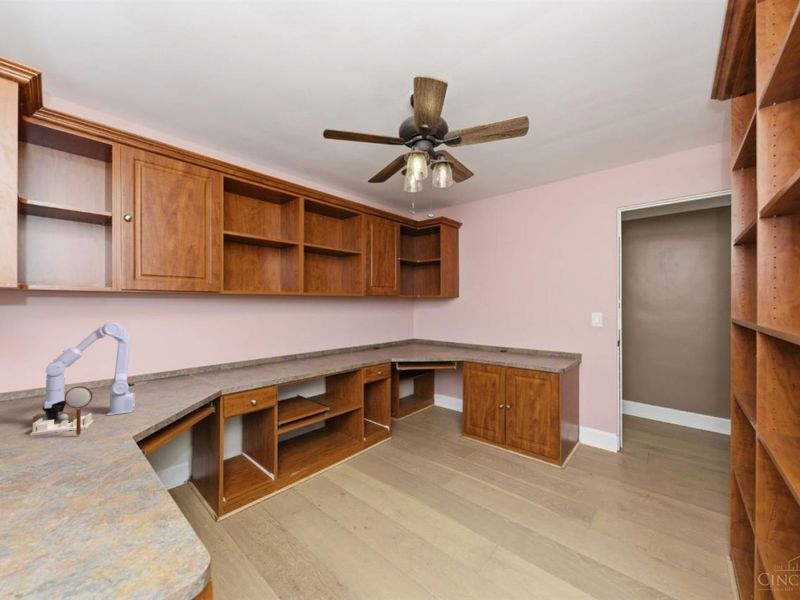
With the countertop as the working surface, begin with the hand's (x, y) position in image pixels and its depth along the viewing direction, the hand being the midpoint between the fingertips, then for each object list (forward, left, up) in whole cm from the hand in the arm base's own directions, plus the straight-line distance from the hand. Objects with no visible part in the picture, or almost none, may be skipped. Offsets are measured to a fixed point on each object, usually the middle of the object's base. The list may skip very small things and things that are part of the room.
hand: (55, 420), depth 148 cm
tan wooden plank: (0, 0, -1) cm, 1 cm away
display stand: (-6, +10, -1) cm, 12 cm away
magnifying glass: (-15, +24, -2) cm, 28 cm away
